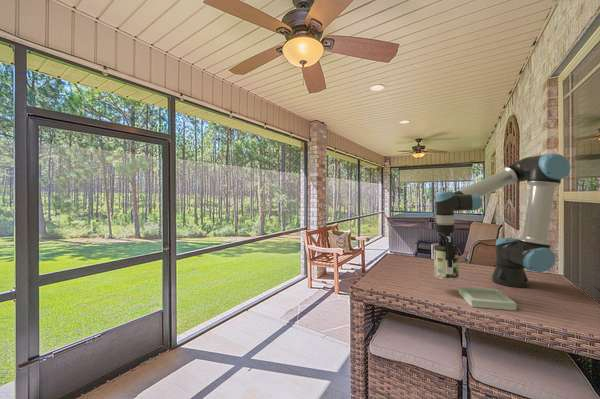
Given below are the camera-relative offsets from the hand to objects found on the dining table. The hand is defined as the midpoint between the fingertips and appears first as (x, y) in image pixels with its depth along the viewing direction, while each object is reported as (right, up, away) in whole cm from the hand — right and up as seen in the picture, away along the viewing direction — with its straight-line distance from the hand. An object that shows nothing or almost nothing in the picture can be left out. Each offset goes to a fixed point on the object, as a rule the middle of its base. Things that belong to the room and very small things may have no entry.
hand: (446, 270), depth 130 cm
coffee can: (0, -3, 0) cm, 3 cm away
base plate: (+11, -10, -11) cm, 19 cm away
